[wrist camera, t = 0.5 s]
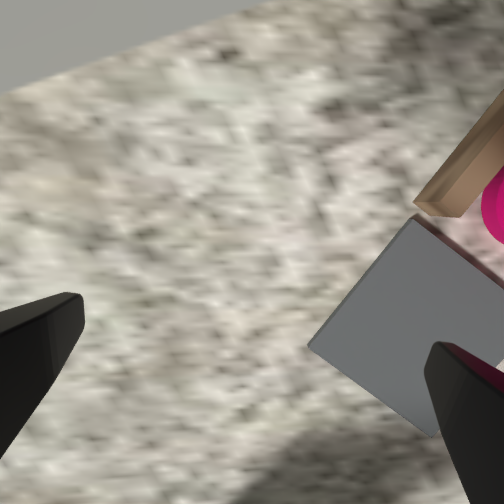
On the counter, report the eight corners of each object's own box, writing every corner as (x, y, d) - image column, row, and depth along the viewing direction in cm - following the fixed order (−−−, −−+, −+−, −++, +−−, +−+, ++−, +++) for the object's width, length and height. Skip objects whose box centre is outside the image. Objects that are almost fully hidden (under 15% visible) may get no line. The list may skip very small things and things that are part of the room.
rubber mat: (427, 432, 25) (431, 437, 25) (307, 344, 24) (308, 347, 24) (533, 315, 24) (540, 317, 23) (409, 218, 23) (413, 218, 23)
